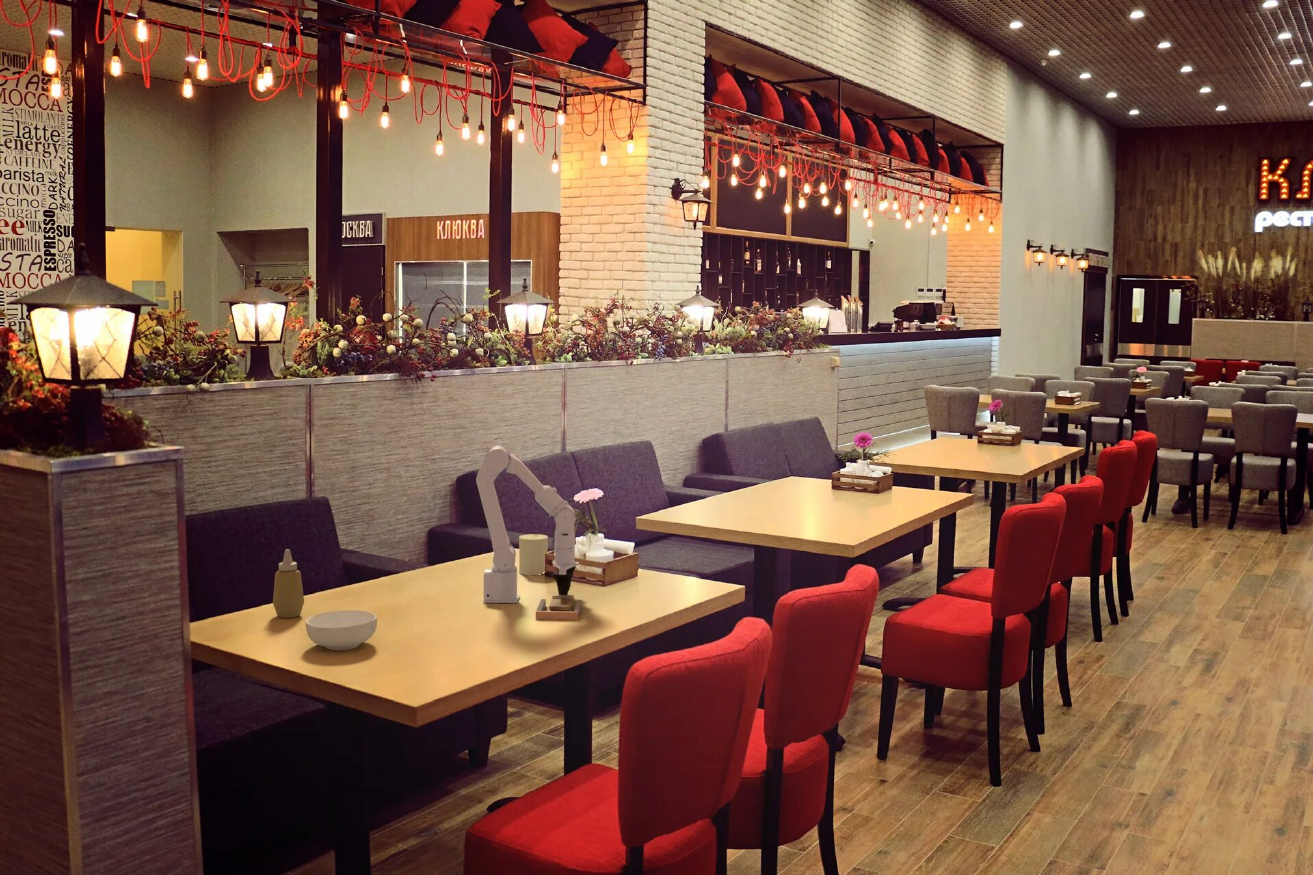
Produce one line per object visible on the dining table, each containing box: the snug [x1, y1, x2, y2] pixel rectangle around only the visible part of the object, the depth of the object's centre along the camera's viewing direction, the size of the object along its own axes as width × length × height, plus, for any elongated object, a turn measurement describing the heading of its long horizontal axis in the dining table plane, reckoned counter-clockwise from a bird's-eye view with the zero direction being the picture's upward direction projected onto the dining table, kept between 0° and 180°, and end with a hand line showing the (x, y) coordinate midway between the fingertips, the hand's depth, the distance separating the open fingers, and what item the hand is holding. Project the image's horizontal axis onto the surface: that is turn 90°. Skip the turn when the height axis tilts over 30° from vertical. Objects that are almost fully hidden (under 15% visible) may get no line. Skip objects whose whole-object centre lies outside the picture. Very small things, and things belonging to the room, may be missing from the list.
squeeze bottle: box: [272, 548, 305, 619], centre depth 311 cm, size 8×8×18 cm
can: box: [518, 533, 549, 576], centre depth 368 cm, size 9×9×12 cm
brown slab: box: [548, 594, 575, 611], centre depth 325 cm, size 6×10×2 cm, turn 0°
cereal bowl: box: [305, 609, 378, 651], centre depth 285 cm, size 17×17×7 cm
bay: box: [535, 598, 583, 621], centre depth 319 cm, size 11×14×2 cm
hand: (564, 593), depth 334 cm, fingers open, 7 cm apart
